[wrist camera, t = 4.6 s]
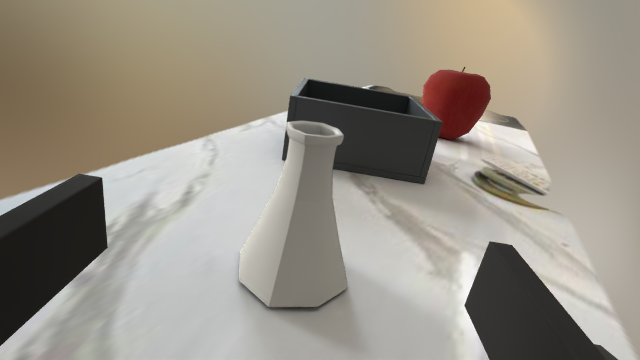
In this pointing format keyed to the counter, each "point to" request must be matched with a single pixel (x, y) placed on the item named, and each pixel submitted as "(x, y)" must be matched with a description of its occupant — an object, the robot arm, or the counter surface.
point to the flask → (298, 227)
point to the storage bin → (370, 128)
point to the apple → (456, 100)
